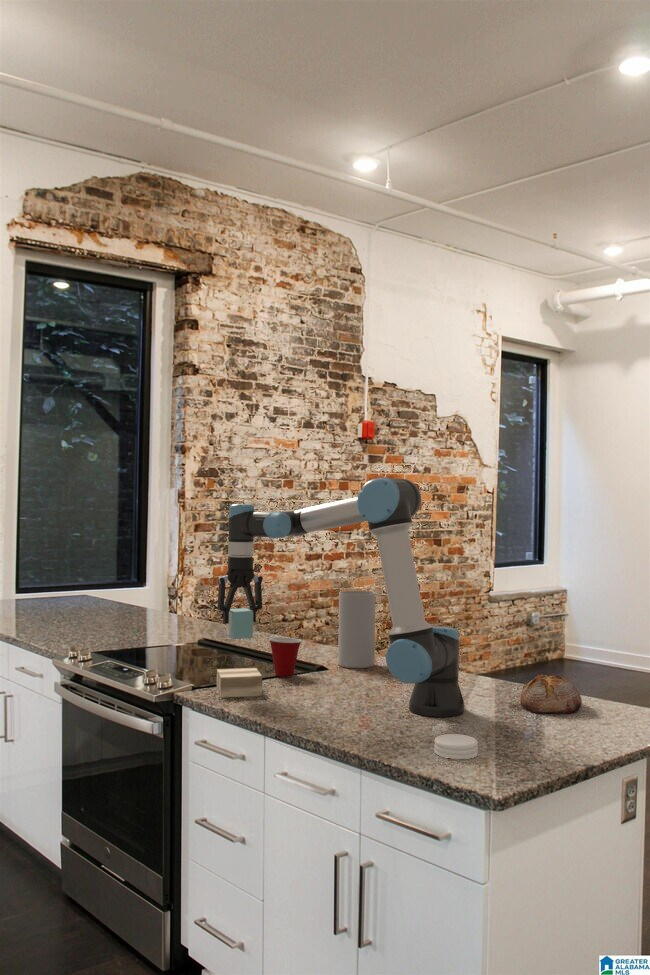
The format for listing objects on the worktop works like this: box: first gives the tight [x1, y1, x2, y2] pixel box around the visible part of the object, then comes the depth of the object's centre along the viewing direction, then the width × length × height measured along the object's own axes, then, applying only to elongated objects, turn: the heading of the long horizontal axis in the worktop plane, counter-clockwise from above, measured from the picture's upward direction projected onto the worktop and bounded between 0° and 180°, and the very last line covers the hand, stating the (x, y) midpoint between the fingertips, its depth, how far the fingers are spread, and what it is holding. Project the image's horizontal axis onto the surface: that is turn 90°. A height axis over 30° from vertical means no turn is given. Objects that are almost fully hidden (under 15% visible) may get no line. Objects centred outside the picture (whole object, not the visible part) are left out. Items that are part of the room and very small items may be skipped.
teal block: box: [225, 607, 254, 640], centre depth 260 cm, size 6×6×8 cm
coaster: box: [433, 733, 479, 760], centre depth 202 cm, size 10×10×4 cm
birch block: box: [216, 667, 263, 698], centre depth 260 cm, size 12×12×6 cm
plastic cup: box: [268, 636, 303, 678], centre depth 284 cm, size 11×11×12 cm
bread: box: [519, 673, 583, 714], centre depth 247 cm, size 16×20×10 cm
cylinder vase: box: [337, 590, 376, 669], centre depth 302 cm, size 12×12×25 cm
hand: (239, 633), depth 260 cm, fingers closed on teal block, 6 cm apart
